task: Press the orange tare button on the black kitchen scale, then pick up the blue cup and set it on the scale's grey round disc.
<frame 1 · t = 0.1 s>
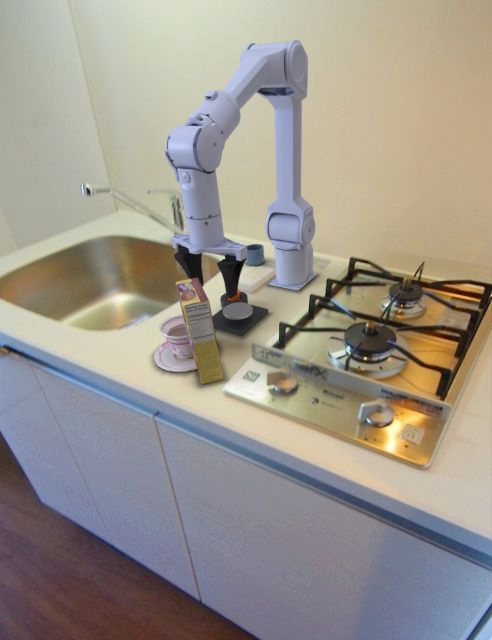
hand: (215, 292, 77), 10 cm above the worktop, tool pointing down, fingers open, 7 cm apart
teacup: (187, 355, 80), on the worktop, touching candy box
candy box: (207, 369, 76), on the worktop, touching teacup
grey round disc: (237, 312, 85), resting on scale
blue cup: (255, 262, 111), on the worktop
scale: (237, 320, 89), on the worktop
tare button: (233, 294, 90), point 3 cm above the worktop, slide at 0.1 cm
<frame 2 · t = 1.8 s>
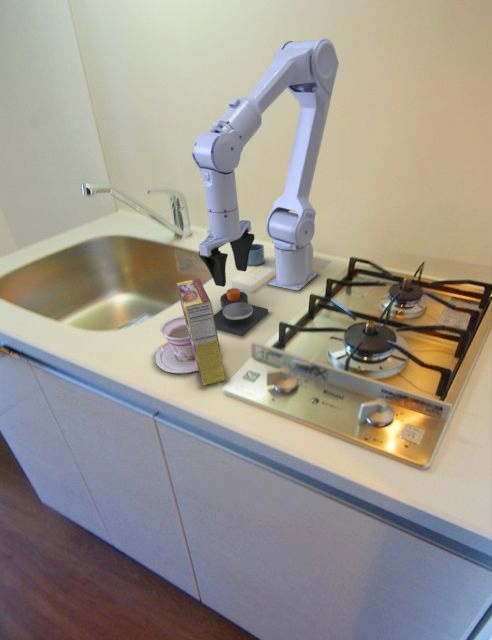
hand: (231, 277, 87), 7 cm above the worktop, tool pointing down, fingers open, 7 cm apart
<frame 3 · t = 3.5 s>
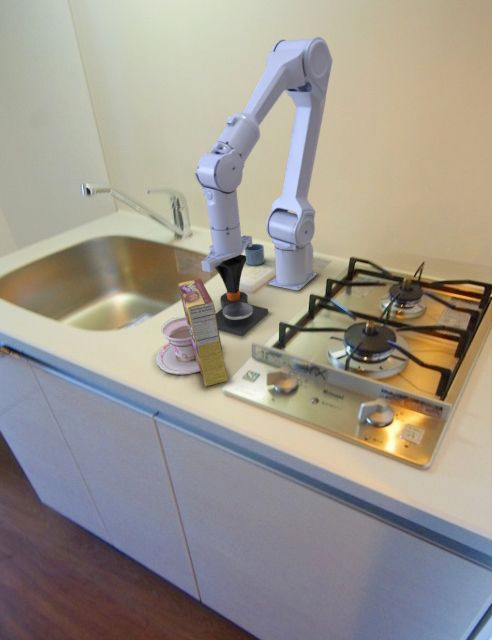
hand: (233, 291, 89), 4 cm above the worktop, tool pointing down, fingers closed, pressing on tare button
tare button: (233, 295, 90), point 3 cm above the worktop, slide at 0.1 cm, touching gripper
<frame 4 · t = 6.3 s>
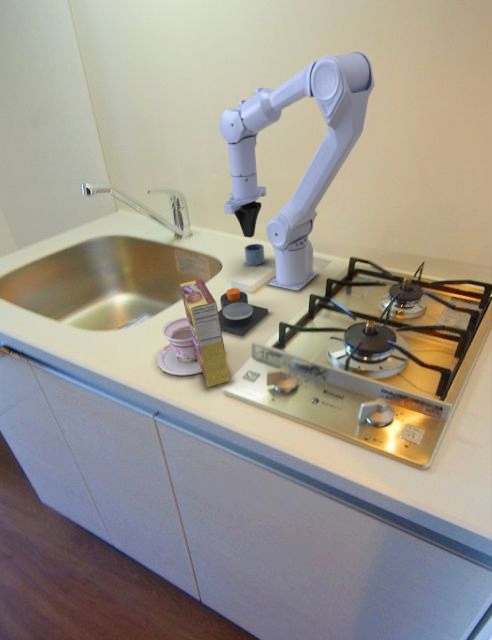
hand: (249, 236, 102), 8 cm above the worktop, tool pointing down, fingers closed
teacup: (190, 358, 79), on the worktop, touching candy box
tare button: (233, 294, 90), point 3 cm above the worktop, slide at 0.1 cm
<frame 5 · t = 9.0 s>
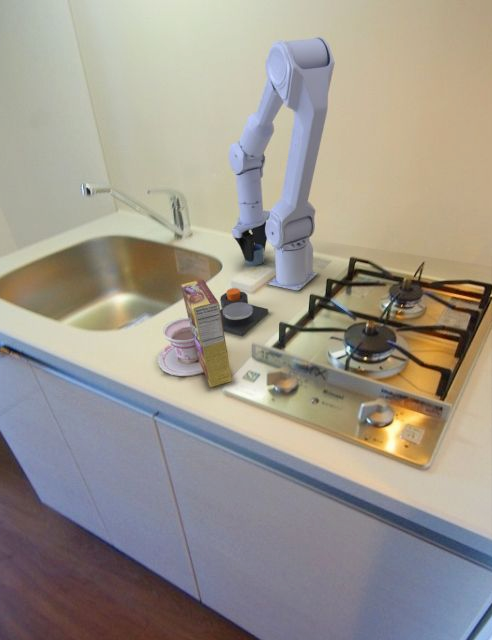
hand: (254, 256, 110), 2 cm above the worktop, tool pointing down, fingers closed on blue cup, 5 cm apart
blue cup: (255, 262, 111), on the worktop, touching gripper
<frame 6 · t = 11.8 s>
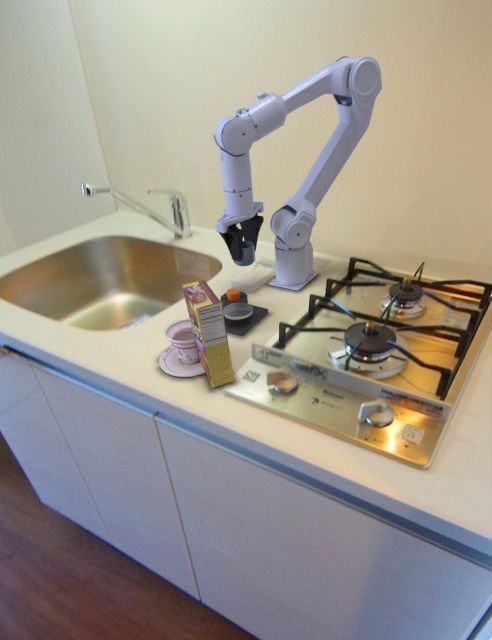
hand: (244, 255, 93), 8 cm above the worktop, tool pointing down, fingers closed on blue cup, 5 cm apart
teacup: (192, 359, 79), on the worktop, touching candy box
blue cup: (244, 262, 94), point 7 cm above the worktop, touching gripper
when the fingers open (5 cm above the worktop, at t = 14.4 s): blue cup stays where it is, resting on grey round disc.
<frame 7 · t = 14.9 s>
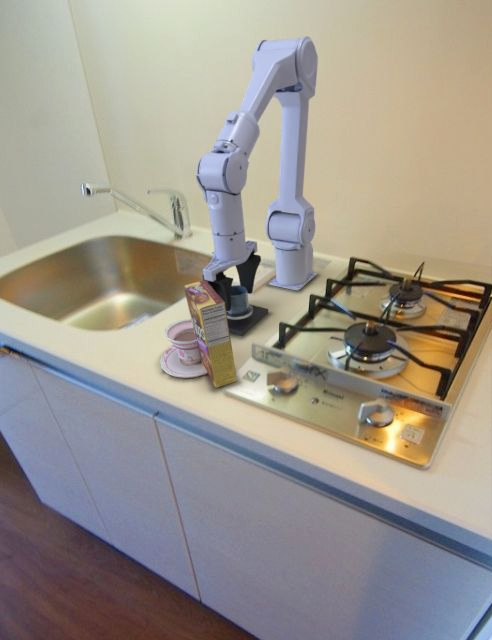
hand: (236, 300, 83), 6 cm above the worktop, tool pointing down, fingers open, 7 cm apart
blue cup: (236, 309, 85), point 4 cm above the worktop, touching grey round disc
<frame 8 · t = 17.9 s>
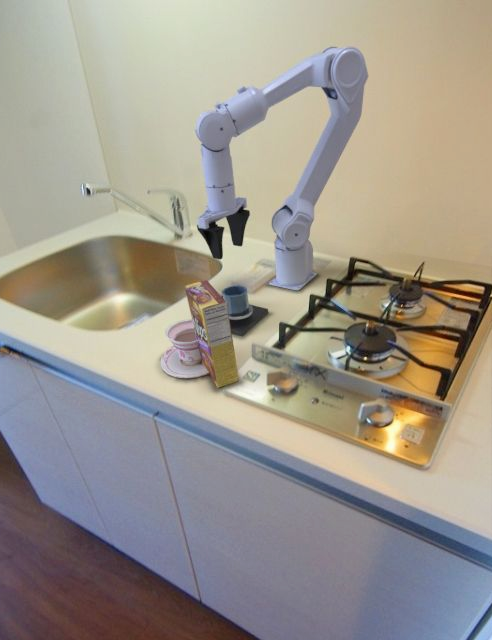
hand: (228, 251, 93), 9 cm above the worktop, tool pointing down, fingers open, 7 cm apart
at the end: tare button pushed in 1.1 cm at the most during the clip, back to where it started at the end; blue cup 0.1 cm off-centre on the grey round disc, point 0.6 cm above the grey round disc's base; blue cup tilted 0° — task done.
